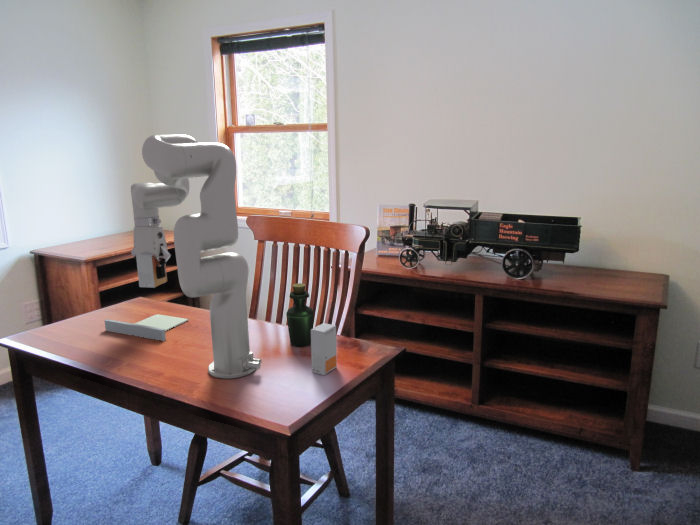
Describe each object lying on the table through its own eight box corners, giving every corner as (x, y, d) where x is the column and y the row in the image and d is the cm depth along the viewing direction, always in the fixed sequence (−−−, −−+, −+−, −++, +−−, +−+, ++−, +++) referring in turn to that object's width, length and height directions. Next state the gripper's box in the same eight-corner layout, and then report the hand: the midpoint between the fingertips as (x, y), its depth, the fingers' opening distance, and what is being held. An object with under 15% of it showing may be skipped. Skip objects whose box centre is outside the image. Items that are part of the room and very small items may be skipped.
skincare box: (324, 375, 143) (323, 332, 140) (311, 372, 145) (309, 329, 142) (337, 367, 148) (336, 325, 145) (324, 364, 150) (323, 322, 147)
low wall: (165, 339, 169) (164, 329, 168) (163, 341, 168) (161, 330, 167) (108, 329, 179) (107, 319, 178) (105, 330, 178) (104, 320, 177)
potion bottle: (312, 348, 160) (310, 289, 156) (284, 348, 161) (281, 288, 157) (317, 338, 168) (315, 281, 164) (291, 337, 169) (288, 281, 165)
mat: (188, 320, 186) (188, 319, 186) (158, 334, 173) (158, 333, 173) (157, 315, 191) (156, 314, 191) (125, 329, 179) (125, 327, 179)
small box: (154, 288, 175) (151, 255, 172) (138, 287, 176) (135, 255, 173) (167, 281, 182) (164, 250, 180) (152, 280, 184) (149, 249, 181)
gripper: (176, 221, 174) (181, 276, 178) (135, 218, 181) (141, 271, 185) (159, 225, 167) (165, 282, 172) (117, 222, 174) (123, 277, 179)
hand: (152, 276), depth 178 cm, fingers closed on small box, 6 cm apart
